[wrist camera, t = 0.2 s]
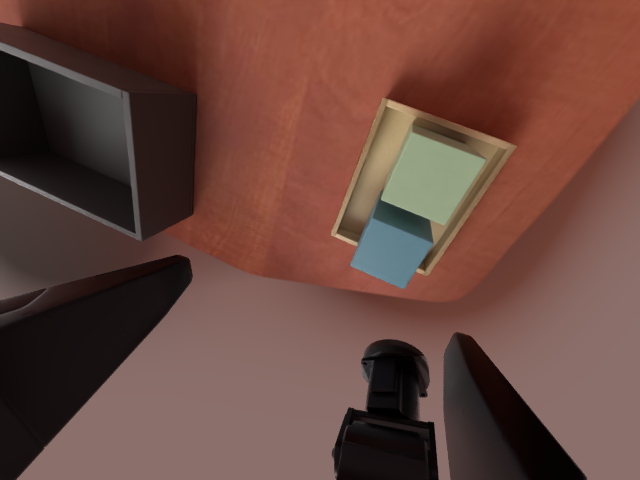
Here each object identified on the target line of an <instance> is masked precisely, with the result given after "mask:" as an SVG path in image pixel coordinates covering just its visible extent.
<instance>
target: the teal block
mask: <svg viewBox="0 0 640 480" xmlns="http://www.w3.org/2000/svg"><path fill="white" fill-rule="evenodd" d="M382 193H383V190H381V191H380V194H379V196H378V198H377V200H376V202H375V205H374V207H373V209H372V211H371V213H370V216H369V218H368V220H367V222H366V224H365V227H364V229H363V231H362V234H361V237H360V239H359V242H358V245H357V248H356V250H355V253H354V256H353V259H352V261H351V264H350V266H351V267H354V268H356V269H358V270H361V271H363V272H365V273H367V274H370V275H372V276H374V277H377V278H379V279H381V280H383V281H386V282H388V283H390V284H393V285H395V286H397V287H399V288H402V289H405V287H406V286H407V284H408V283H409V281H410V279H411V278H412V276H413V275H414V273H415V272H416V270H417V269H418V267H419V266H420V264H421V262H422V261H423V259H424V258H425V256H426V255H427V253H428V252H429V250H430V248H431V247H432V245H433V244H434V241H433V235H432V229H431V223H430V220H429V219H427V218H424V217H422V216H420V215H417V214H415V213H412V212H410V211H407V210H405V209H402V208H400V207H397V206H395V205H392V204H390V203H387V202H385V201H382V200H381V196H382Z"/></svg>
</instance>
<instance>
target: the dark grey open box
mask: <svg viewBox="0 0 640 480" xmlns="http://www.w3.org/2000/svg"><path fill="white" fill-rule="evenodd" d="M196 102H197V95H196V94H194V93H191V92H189V91H186V90H183V89H181V88H178V87H176V86H173V85H170V84H168V83H165V82H163V81H160V80H158V79H155V78H152V77H150V76H147V75H145V74H142V73H139V72H137V71H134V70H132V69H129V68H126V67H124V66H121V65H119V64H116V63H113V62H111V61H108V60H106V59H103V58H101V57H98V56H95V55H93V54H90V53H88V52H85V51H82V50H80V49H77V48H75V47H72V46H69V45H67V44H64V43H62V42H59V41H56V40H54V39H51V38H49V37H46V36H43V35H41V34H38V33H36V32H33V31H31V30H28V29H25V28H23V27H20V26H14V25H9V24H4V23H0V175H1V176H3V177H5V178H7V179H9V180H11V181H14V182H16V183H18V184H20V185H22V186H24V187H27V188H29V189H31V190H33V191H35V192H37V193H39V194H41V195H44V196H46V197H48V198H50V199H52V200H54V201H56V202H58V203H61V204H63V205H65V206H67V207H69V208H71V209H73V210H75V211H78V212H80V213H82V214H84V215H86V216H88V217H90V218H93V219H95V220H97V221H99V222H101V223H103V224H105V225H108V226H110V227H112V228H114V229H116V230H119V231H120V232H123V233H125V234H127V235H129V236H131V237H133V238H135V239H137V240H140V241H144V240H146V239H148V238H149V237H151V236H153V235H155V234H157V233H159V232H161V231H163V230H165V229H167V228H169V227H171V226H172V225H174V224H176V223H178V222H180V221H182V220H184V219H186V218H188V217H190V216H192V210H193V183H194V156H195V129H196Z"/></svg>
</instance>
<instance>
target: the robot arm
mask: <svg viewBox="0 0 640 480" xmlns="http://www.w3.org/2000/svg"><path fill="white" fill-rule="evenodd" d="M192 277H193V275H192V269H191V264H190V260H189V258H187V257H184V256H181V255H174V256H171V257H167V258H163V259H159V260H155V261H151V262H147V263H143V264H139V265H136V266H132V267H128V268H124V269H120V270H116V271H112V272H108V273H104V274H100V275H96V276H93V277H89V278H85V279H81V280H77V281H73V282H69V283H65V284H61V285H58V286H54V287H50V288H48V289H42V290H38V291H34V292H30V293H26V294H22V295H18V296H14V297H10V298H6V299H1V300H0V480H16V479H17V478H18V477H19V476H20V475H21V474H22V473H23V472H24V470H26V468H27V467H28V466H29V465H30V464H31V463H32V462H33V461H34V460H35V458H36V457H37V456H38V455H39V454H40V453H41V452H42V451H43V450H44V447H46V446H47V445H48V444H49V443H50V442H51V441H52V439H54V437H55V436H56V435H57V434H58V433H59V432H60V431H61V430H62V429H63V427H64V426H65V425H66V424H67V423H68V422H69V421H70V420H71V419H72V418H73V417H74V416H75V414H76V413H77V412H78V411H79V410H80V409H81V408H82V407H83V406H84V405H85V403H86V402H87V401H88V400H89V399H90V398H91V397H92V396H93V395H94V394H95V392H96V391H97V390H98V389H99V388H100V387H101V386H102V385H103V384H104V383H105V382H106V380H107V379H108V378H109V377H110V376H111V375H112V374H113V373H114V372H115V371H116V369H117V368H118V367H119V366H120V365H121V364H122V363H123V362H124V360H126V359H127V357H128V356H129V355H130V354H131V353H132V352H133V351H134V350H135V349H136V348H137V346H138V345H139V344H140V343H141V342H142V341H143V340H144V339H145V338H146V337H147V336H148V334H149V333H150V332H151V331H152V330H153V329H154V328H155V327H156V326H157V325H158V323H159V322H160V321H161V320H162V319H163V318H164V317H165V316H166V314H167V313H168V312H169V310H170V309H171V308H172V307H173V305H174V304H175V303H176V301H177V300H178V299H179V297H180V296H181V295H182V293H183V292H184V291H185V289H186V288H187V287H188V285H189V284H190V283H191V281H192ZM361 364H362V366H363V368H364V371H365V373H366V375H367V377H368V379H369V386H368V393H367V399H366V406H365V411H361V410H355V409H354V408H350V407H349V408H348V411H347V414H345V417H344V420H343V423H342V426H341V429H340V432H339V435H338V438H337V441H336V444H335V446H334V448H333V450H332V457H333V459H334V469H335V478H336V480H439V479H438V465H437V453H436V441H435V429H434V422H423V421H420V406H419V405H420V404H419V397H427V390H426V387H425V384H424V381H423V379H422V376H421V373H420V370H419V367H418V365H417V362H416V359H415V358H414V357H412V356H401V357H375V358H363V359H362V360H361ZM444 421H445V431H446V440H447V450H448V459H449V468H450V477H451V480H587V477H586V476H585V474H584V473H583V472H582V471H581V469H580V468H579V467H578V466H577V465H576V463H575V462H574V461H573V460H572V459H571V457H570V456H569V455H568V454H567V452H566V451H565V450H564V449H563V448H562V447H561V445H560V444H559V443H558V442H557V440H556V439H555V438H554V437H553V435H552V434H551V433H550V432H549V430H548V429H547V428H546V427H545V426H544V424H543V423H542V422H541V421H540V419H539V418H538V417H537V416H536V415H535V413H534V412H533V411H532V410H531V409H530V407H529V406H528V405H527V404H526V402H525V401H524V400H523V399H522V397H521V396H520V395H519V394H518V393H517V391H516V390H515V389H514V388H513V387H512V385H511V384H510V383H509V382H508V380H507V379H506V378H505V377H504V376H503V374H502V373H501V372H500V371H499V369H498V368H497V367H496V366H495V365H494V363H493V362H492V361H491V360H490V358H489V357H488V356H487V355H486V354H485V352H484V351H483V350H482V349H481V347H480V346H479V345H478V344H477V343H476V341H475V340H474V339H473V338H472V337H471V336H469V335H466V334H462V333H459V332H456V333H454V334H453V336H452V338H451V340H450V342H449V344H448V346H447V348H446V350H445V354H444Z"/></svg>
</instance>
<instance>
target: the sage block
mask: <svg viewBox="0 0 640 480" xmlns="http://www.w3.org/2000/svg"><path fill="white" fill-rule="evenodd" d="M486 161H487V159H486V158H485V157H484V156H482V155H481V154H480V153H478V152H477V151H476V150H474V149H473V148H472V147H470V146H469V145H468V144H466V143H465V142H462V141H459V140H456V139H454V138H451V137H448V136H445V135H443V134H440V133H437V132H435V131H432V130H429V129H426V128H424V127H421V126H418V125H416V124H413V123H412V124H411V125H410V127H409V129H408V132H407V134H406V136H405V138H404V141H403V143H402V145H401V147H400V149H399V152H398V154H397V156H396V158H395V160H394V163H393V165H392V167H391V169H390V171H389V174H388V176H387V180H386V183H385V186H384V189H383V193H382V196H381V200H382V201H385V202H387V203H390V204H392V205H395V206H397V207H400V208H402V209H405V210H407V211H410V212H412V213H415V214H417V215H420V216H422V217H424V218H427V219H429V220H432V221H434V222H437V223H439V224H442V225H446V224H447V222H448V220H449V219H450V217H451V216H452V214H453V213H454V211H455V210H456V208H457V206H458V205H459V203H460V202H461V200H462V199H463V197H464V196H465V194H466V192H467V191H468V189H469V188H470V186H471V185H472V183H473V182H474V180H475V179H476V177H477V175H478V174H479V172H480V171H481V169H482V168H483V166H484V165H485V163H486Z"/></svg>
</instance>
